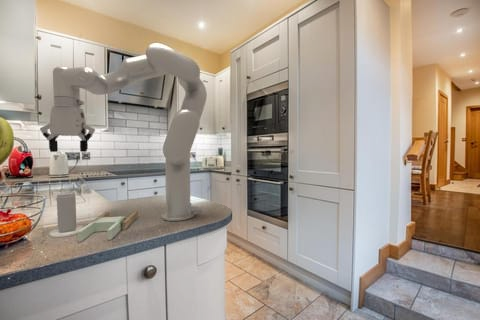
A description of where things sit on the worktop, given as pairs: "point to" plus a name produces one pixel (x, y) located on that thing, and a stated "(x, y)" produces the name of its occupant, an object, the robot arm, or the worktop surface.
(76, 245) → the worktop surface
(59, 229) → the beverage can
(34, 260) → the worktop surface
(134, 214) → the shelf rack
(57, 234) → the ceramic coaster
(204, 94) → the robot arm
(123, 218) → the sliding holder
